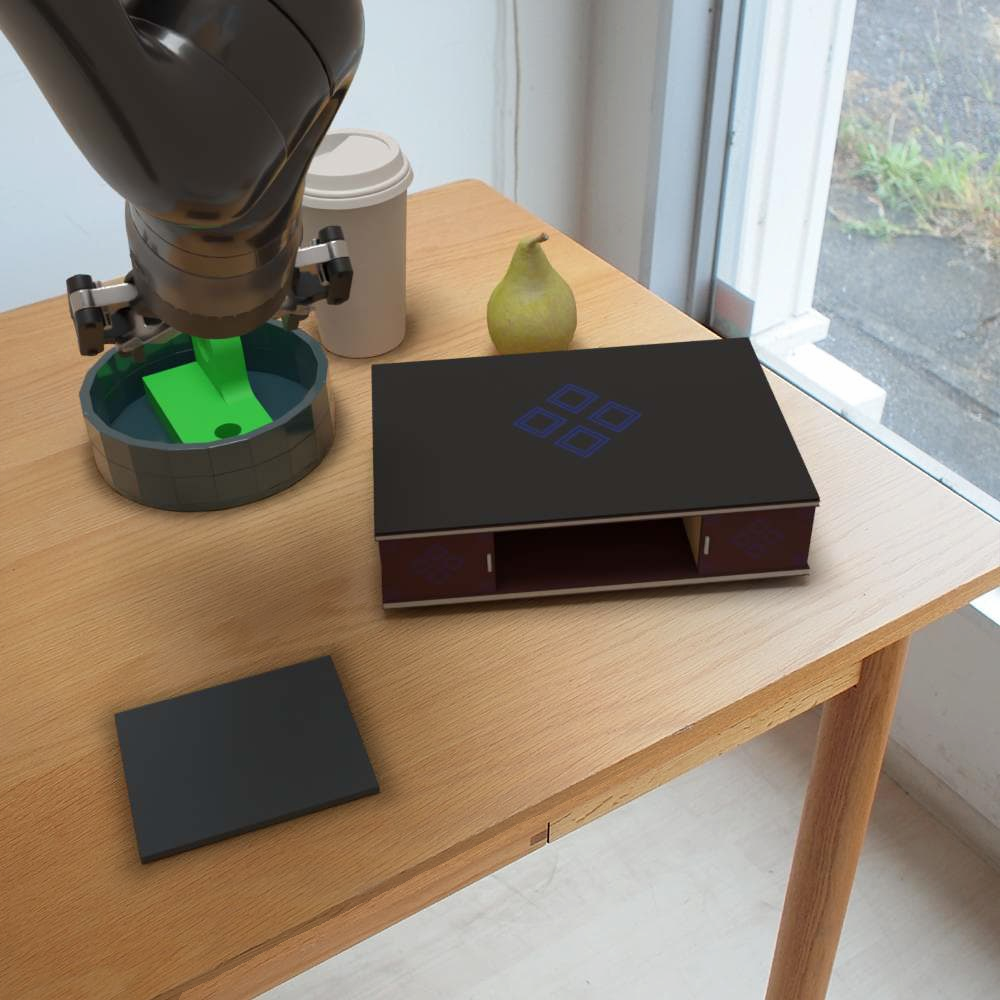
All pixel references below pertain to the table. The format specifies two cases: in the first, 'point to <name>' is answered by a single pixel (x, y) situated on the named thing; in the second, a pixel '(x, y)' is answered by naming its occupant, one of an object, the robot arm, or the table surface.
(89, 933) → the table surface
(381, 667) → the table surface
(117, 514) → the table surface
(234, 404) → the mechanical part
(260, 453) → the pot
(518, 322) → the fruit
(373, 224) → the coffee cup
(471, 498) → the miniature tv stand
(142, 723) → the mat
